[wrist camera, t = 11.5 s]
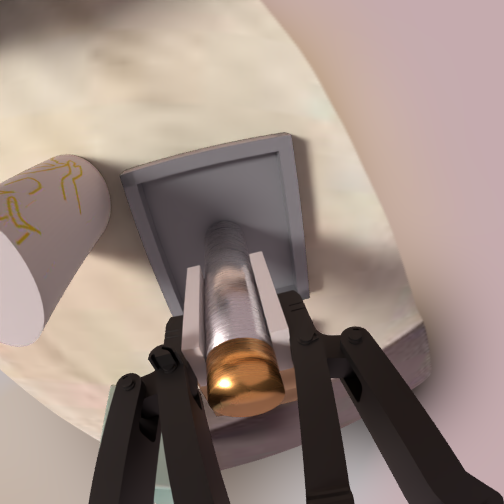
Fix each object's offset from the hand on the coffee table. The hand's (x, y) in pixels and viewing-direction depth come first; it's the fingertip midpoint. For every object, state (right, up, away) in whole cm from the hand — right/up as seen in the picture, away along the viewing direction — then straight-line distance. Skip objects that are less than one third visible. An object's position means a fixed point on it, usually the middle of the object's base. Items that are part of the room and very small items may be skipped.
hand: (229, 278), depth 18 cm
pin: (-1, +3, +5) cm, 6 cm away
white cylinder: (-14, +6, +3) cm, 15 cm away
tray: (-1, +3, +6) cm, 7 cm away
